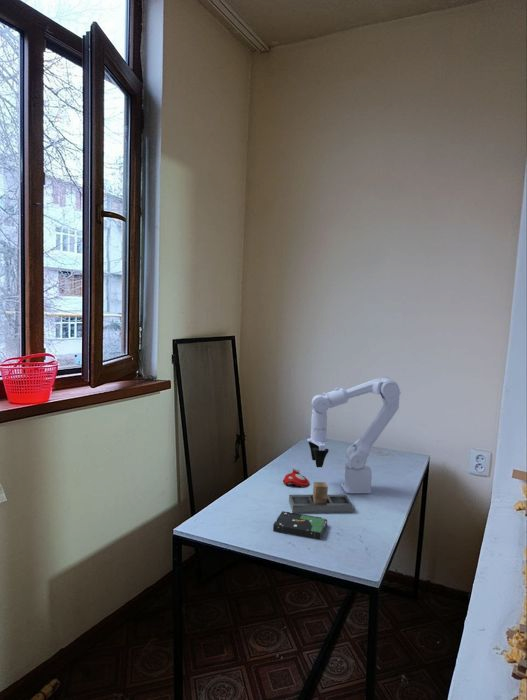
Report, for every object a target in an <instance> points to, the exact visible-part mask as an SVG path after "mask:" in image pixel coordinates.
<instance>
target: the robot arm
mask: <svg viewBox="0 0 527 700" xmlns="http://www.w3.org/2000/svg"><path fill="white" fill-rule="evenodd" d="M368 393H372V394H376V395H380V396H381V400H382V404H383V405H382V406H381V407H380V409H379V410H378V412H377V413H376V415H375V416H374V418H373V419H372V421H371V422H370V423H369V424H368V426H367V428H366V429H365V431H364V432H363V433H362V434H361V436H360V437H359V439H356V441H354V443H353V444H352V445H350V446H348V447H347V448H346V449H345V457H346V459H347V462H346V463H345V465H344V467H345V468H344V470H345V471H344V483H341V484H340V485H341V488H342V489H343V490H344V492H345V493H346V494H372V479H373V478H372V476H373V475H372V473H373V472H372V468H371V467H370V465H369V466H368V465H366V464H367V460H368V457H369V456H370V453H371V450H372V449H371V448H372V447H373V446H374V444H375V443H376V441H377V440H378V438H379V437H380V436H381V434H382V433H383V432H384V431H385V429H386V427H387V426H388V424H389V423H390V421H392V419H393V417H394V416H395V414H396V413H397V411H398V410H399V408H400V396H401V389H400V387H399V385H398V383H397V382H396V381H395V380H393V379H391V378H390V377H389V376H381V377H379V378H378V377H377V378H374V379H371V380H369V381H366V382H363V383H361V384H358V385H355V386H353V387H350V388H348V389H344V388H343V387H340V388H339V387H335V388H334V390H332V391H329V392H325V391H324V392H322V394H316V395H314V396H313V397H312V399H311V402H310V404H311V406H312V410H311V418H310V419H311V421H310V438H307V440H306V441H307V442H308V446H309V448H310V455H311V460H312V461H315V467H316V468H323V467H324V463H325V460H326V457H327V455H328V453H329V452H330V450H329V448H326V444H327V426H328V415H327V414H328V412H327V411H328V410H329V409H331V408H332V409H333V408H336V407H338V406H342V405H344V404H347V403H348V402H349V399H351V398H354V397H359V396H362V395H365V394H368Z"/></svg>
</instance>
